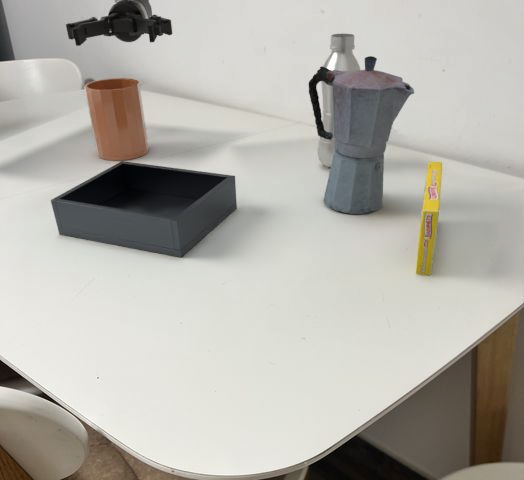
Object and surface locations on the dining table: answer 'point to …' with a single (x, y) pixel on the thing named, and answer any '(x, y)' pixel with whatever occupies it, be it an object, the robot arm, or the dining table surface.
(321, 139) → the silver bottle
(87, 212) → the tray
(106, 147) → the pot
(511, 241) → the dining table surface
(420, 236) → the candy box
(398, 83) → the moka pot
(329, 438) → the dining table surface
